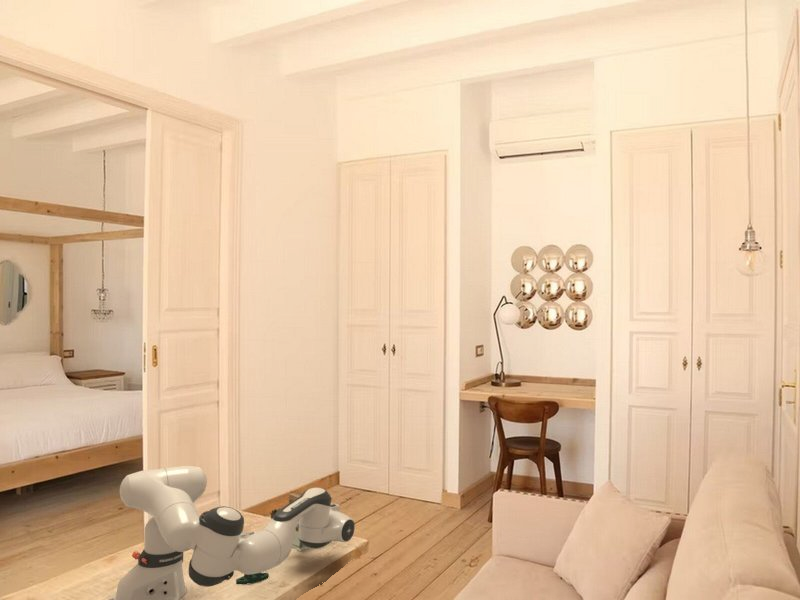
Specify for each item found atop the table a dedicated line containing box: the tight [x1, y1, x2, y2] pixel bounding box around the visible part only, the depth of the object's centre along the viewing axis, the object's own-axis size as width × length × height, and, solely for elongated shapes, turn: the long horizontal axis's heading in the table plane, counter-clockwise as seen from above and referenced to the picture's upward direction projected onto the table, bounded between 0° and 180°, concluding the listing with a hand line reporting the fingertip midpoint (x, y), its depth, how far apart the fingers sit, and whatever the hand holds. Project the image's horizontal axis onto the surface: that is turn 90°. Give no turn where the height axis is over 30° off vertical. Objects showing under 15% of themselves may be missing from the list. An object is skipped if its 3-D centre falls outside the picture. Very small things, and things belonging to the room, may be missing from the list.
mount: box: [235, 572, 270, 585], centre depth 212 cm, size 11×4×5 cm, turn 123°
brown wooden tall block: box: [288, 491, 303, 531], centre depth 233 cm, size 4×6×12 cm
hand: (296, 509), depth 233 cm, fingers closed on brown wooden tall block, 4 cm apart
